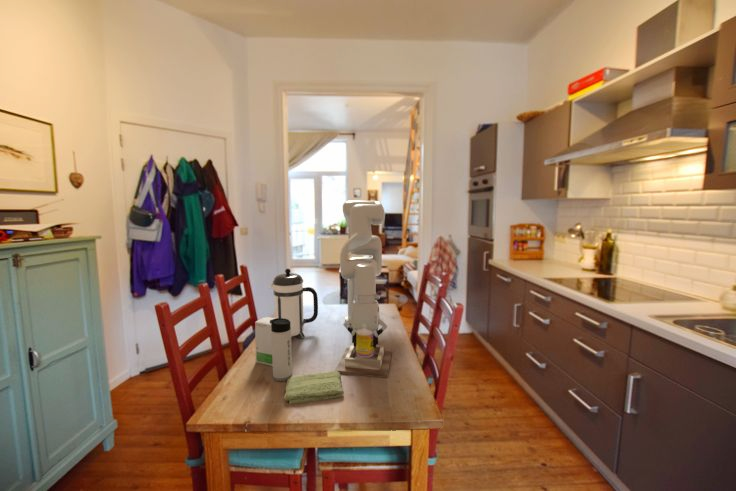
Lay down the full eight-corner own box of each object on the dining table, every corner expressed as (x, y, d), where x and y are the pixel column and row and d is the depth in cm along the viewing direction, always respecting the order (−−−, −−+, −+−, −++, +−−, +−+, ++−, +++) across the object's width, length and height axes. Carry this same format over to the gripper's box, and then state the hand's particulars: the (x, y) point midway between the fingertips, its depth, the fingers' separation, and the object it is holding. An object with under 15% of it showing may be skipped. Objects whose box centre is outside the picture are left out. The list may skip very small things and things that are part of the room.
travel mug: (270, 374, 111) (268, 317, 108) (290, 370, 113) (288, 315, 111) (273, 383, 105) (270, 324, 103) (293, 379, 108) (292, 321, 105)
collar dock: (346, 349, 129) (346, 340, 129) (391, 353, 126) (392, 343, 126) (335, 373, 111) (334, 362, 111) (387, 377, 109) (387, 366, 108)
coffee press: (292, 346, 133) (290, 274, 129) (264, 338, 141) (262, 270, 137) (319, 331, 148) (317, 266, 144) (292, 325, 156) (290, 263, 152)
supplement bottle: (372, 360, 115) (372, 325, 113) (354, 358, 116) (353, 323, 114) (375, 351, 121) (375, 318, 119) (358, 350, 123) (358, 317, 121)
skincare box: (255, 362, 119) (253, 321, 117) (266, 354, 125) (265, 315, 123) (274, 366, 116) (272, 324, 114) (285, 358, 122) (283, 318, 120)
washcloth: (286, 382, 107) (286, 373, 106) (340, 377, 110) (340, 368, 109) (283, 407, 94) (283, 396, 93) (344, 400, 97) (344, 390, 96)
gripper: (390, 296, 118) (389, 342, 121) (343, 293, 121) (344, 339, 123) (388, 302, 111) (388, 351, 113) (338, 299, 114) (339, 348, 116)
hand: (365, 345), depth 118 cm, fingers closed on supplement bottle, 6 cm apart
